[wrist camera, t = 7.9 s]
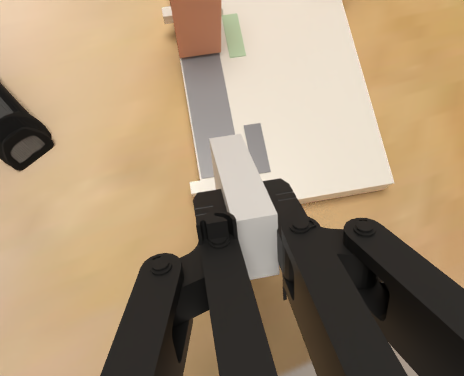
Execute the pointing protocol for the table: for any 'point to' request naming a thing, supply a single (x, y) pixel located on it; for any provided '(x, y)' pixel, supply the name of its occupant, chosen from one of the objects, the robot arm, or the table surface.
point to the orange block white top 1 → (197, 26)
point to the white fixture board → (287, 99)
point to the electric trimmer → (20, 134)
